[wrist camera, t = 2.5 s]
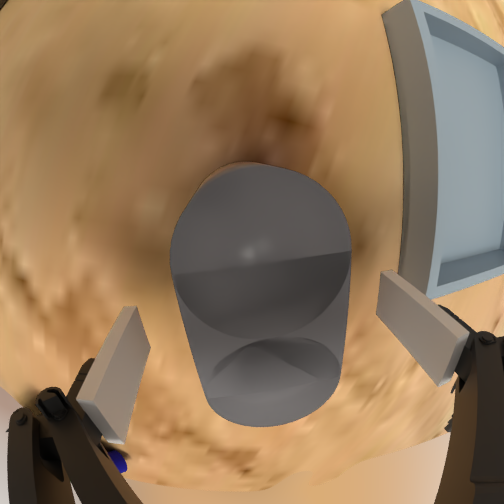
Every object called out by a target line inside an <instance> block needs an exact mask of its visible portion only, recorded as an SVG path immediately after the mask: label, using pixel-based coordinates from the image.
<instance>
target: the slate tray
mask: <svg viewBox="0 0 504 504" xmlns="http://www.w3.org/2000/svg"><path fill="white" fill-rule="evenodd" d="M382 18H383V22H384V26H385V29H386V34H387V38H388V42H389V47H390V51H391V56H392V61H393V67H394V72H395V78H396V85H397V92H398V99H399V108H400V118H401V129H402V144H403V170H404V198H403V224H402V239H401V251H400V261H399V270H398V275H400V276H401V277H402V278H403V279H405V280H406V281H407V282H409V283H410V284H411V285H413V286H414V287H415V288H416V289H418V290H419V291H420V292H422V293H423V294H424V295H425V296H427V297H428V298H429V299H430V300H431V299H434V298H438V297H441V296H444V295H447V294H450V293H453V292H456V291H459V290H462V289H465V288H468V287H470V286H473V285H476V284H479V283H481V282H484V281H487V280H489V279H492V278H494V277H497V276H499V275H502V274H504V47H503V46H501V45H500V44H498V43H497V42H495V41H494V40H492V39H491V38H489V37H488V36H486V35H485V34H483V33H481V32H480V31H478V30H477V29H475V28H473V27H471V26H470V25H468V24H466V23H464V22H463V21H461V20H459V19H457V18H455V17H453V16H451V15H449V14H447V13H445V12H443V11H441V10H439V9H437V8H435V7H432V6H430V5H428V4H426V3H423V2H421V1H418V0H403V1H401V2H400V3H398V4H397V5H395V6H394V7H392V8H391V9H389V10H388V11H386V12H385V13H383V14H382Z"/></svg>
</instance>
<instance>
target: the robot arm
mask: <svg viewBox="0 0 504 504" xmlns="http://www.w3.org/2000/svg"><path fill="white" fill-rule="evenodd" d="M5 2H6V0H0V8H1V7H2V6H3V4H4V3H5ZM376 315H377V316H378V317H379V318H380V319H381V320H382V321H383V323H384V324H385V325H386V326H387V327H388V328H389V329H390V330H391V332H392V333H393V334H394V335H395V336H396V337H397V338H398V340H399V341H400V342H401V343H402V344H403V345H404V347H405V348H406V349H407V350H408V351H409V352H410V354H411V355H412V356H413V357H414V358H415V360H416V361H417V362H418V363H419V364H420V366H421V367H422V368H423V369H424V370H425V372H426V373H427V374H428V375H429V376H430V378H431V379H432V380H433V381H434V383H435V384H436V385H437V386H438V387H440V386H442V385H444V384H446V383H448V382H449V381H450V380H451V378H452V376H453V374H454V371H455V372H456V373H457V374H458V377H457V379H456V382H455V384H454V386H453V388H452V390H451V393H453V391H454V389H456V390H455V403H454V413H453V421H452V428H451V435H450V441H449V447H448V452H447V457H446V462H445V466H444V470H443V475H442V478H441V483H440V486H439V489H438V493H437V496H436V499H435V502H434V504H504V336H503V337H497V338H496V337H495V336H494V335H493V334H492V333H490V332H486V331H480V332H478V333H477V332H475V331H474V330H473V329H472V328H471V327H470V326H468V325H467V324H466V323H465V322H464V321H462V320H461V319H459V317H458V316H456V315H454V313H453V312H451V311H450V310H449V309H448V308H446V307H443V306H441V305H437V304H435V303H434V302H433V301H432V300H430V299H429V298H428V297H427V296H425V295H424V294H423V293H422V292H420V291H419V290H418V289H416V288H415V287H414V286H413V285H411V284H410V283H409V282H407V281H406V280H405V279H403V278H402V277H401V276H400V275H398V274H397V273H396V272H394V271H393V270H388V271H383V272H381V275H380V285H379V294H378V303H377V310H376ZM150 348H151V347H150V344H149V342H148V339H147V336H146V333H145V330H144V327H143V324H142V321H141V318H140V315H139V312H138V309H137V306H128V307H123V309H122V310H121V312H120V314H119V316H118V317H117V319H116V321H115V323H114V325H113V326H112V328H111V330H110V332H109V334H108V336H107V337H106V339H105V341H104V343H103V345H102V347H101V349H100V351H99V353H98V354H97V356H96V358H90V359H88V360H87V361H86V362H85V363H84V364H83V365H82V367H81V369H80V371H79V373H78V375H77V377H76V378H75V381H74V382H73V384H72V386H71V388H70V390H69V392H68V394H67V396H65V395H64V393H63V392H62V390H61V389H60V388H57V387H49V388H46V389H44V390H43V391H41V392H40V393H39V395H38V396H37V398H36V406H37V407H38V409H39V410H40V411H41V413H42V414H43V415H37V416H34V414H33V413H32V412H31V411H30V409H28V408H19V409H17V410H16V411H15V412H13V414H12V415H11V418H10V423H9V434H8V455H7V460H8V461H7V468H8V469H7V471H8V492H9V503H10V504H75V501H74V496H73V492H72V487H71V483H72V485H73V487H74V490H75V491H76V494H77V495H78V497H79V499H80V501H81V503H82V504H143V503H142V502H141V501H140V499H139V498H138V497H137V496H136V494H135V493H134V492H133V490H132V489H131V487H130V486H129V485H128V483H127V482H126V480H125V479H124V478H123V476H122V475H121V473H120V472H119V470H118V469H117V467H116V466H115V464H114V463H113V461H112V459H111V458H110V456H109V455H108V453H107V451H106V450H105V448H104V446H103V445H102V444H101V443H100V440H101V436H102V435H103V437H104V438H105V439H106V440H107V441H108V442H109V443H117V444H125V440H126V436H127V432H128V427H129V423H130V419H131V415H132V411H133V408H134V404H135V400H136V396H137V393H138V389H139V386H140V382H141V378H142V375H143V372H144V368H145V365H146V361H147V358H148V355H149V352H150ZM70 481H71V483H70Z"/></svg>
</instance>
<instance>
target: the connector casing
mask: <svg viewBox="0 0 504 504" xmlns="http://www.w3.org/2000/svg"><path fill="white" fill-rule="evenodd" d="M351 253H352V249H351V236H350V230H349V227H348V223H347V220H346V218H345V216H344V214H343V211H342V209H341V208H340V206H339V205H338V203H337V202H336V200H335V199H334V198H333V197H332V195H331V194H330V193H329V192H328V191H327V190H326V189H325V188H323V187H322V186H321V185H320V184H319V183H317V182H316V181H314V180H312V179H311V178H309V177H307V176H305V175H303V174H300V173H298V172H296V171H292V170H288V169H284V168H280V167H276V166H271V165H266V164H261V163H256V162H236V163H231V164H228V165H225V166H223V167H221V168H219V169H217V170H216V171H214V172H213V173H211V174H210V175H209V176H208V177H207V178H206V179H205V180H204V181H203V182H202V184H201V185H200V187H199V188H198V190H197V191H196V193H195V194H194V196H193V197H192V199H191V200H190V202H189V203H188V205H187V207H186V208H185V210H184V211H183V213H182V214H181V216H180V218H179V220H178V222H177V225H176V227H175V230H174V233H173V237H172V240H171V247H170V267H171V274H172V279H173V283H174V287H175V292H176V296H177V300H178V304H179V308H180V312H181V316H182V319H183V323H184V327H185V331H186V334H187V338H188V341H189V345H190V348H191V352H192V355H193V359H194V362H195V365H196V369H197V372H198V375H199V378H200V381H201V384H202V387H203V390H204V393H205V396H206V399H207V401H208V404H209V405H210V407H211V408H212V409H213V410H214V411H215V412H216V413H217V414H218V415H220V416H221V417H223V418H224V419H226V420H228V421H231V422H233V423H236V424H240V425H244V426H251V427H271V426H278V425H283V424H287V423H290V422H293V421H296V420H298V419H301V418H303V417H305V416H307V415H309V414H310V413H312V412H314V411H315V410H317V409H318V408H319V407H321V406H322V405H323V404H324V403H325V402H326V401H327V400H328V399H329V398H330V397H331V395H332V394H333V393H334V391H335V389H336V388H337V385H338V383H339V379H340V375H341V368H342V361H343V353H344V345H345V337H346V327H347V317H348V305H349V292H350V276H351Z"/></svg>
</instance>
